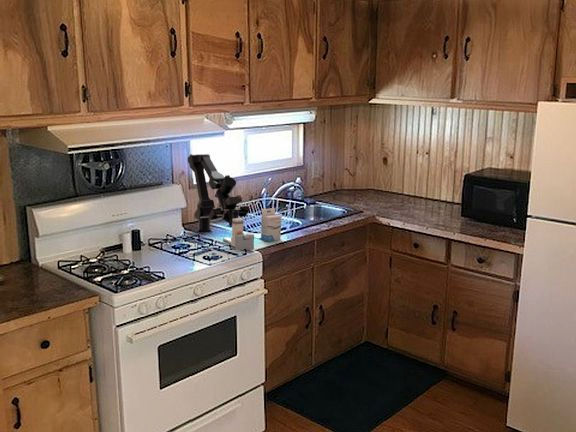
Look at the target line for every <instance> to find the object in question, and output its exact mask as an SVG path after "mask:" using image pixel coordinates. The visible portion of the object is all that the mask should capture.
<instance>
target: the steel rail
mask: <svg viewBox="0 0 576 432" xmlns="http://www.w3.org/2000/svg"><path fill="white" fill-rule="evenodd" d="M231 238H232V237H231ZM231 238H230V237H224V238H222V241H223V242H224V243H227V244H229V245H231Z"/></svg>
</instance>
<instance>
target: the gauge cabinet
mask: <svg viewBox="0 0 576 432" xmlns="http://www.w3.org/2000/svg"><path fill="white" fill-rule="evenodd" d="M245 234H246V235H249V236H250V238H249V240H247V239H244V238H243V237H244V236H243V235H235V247H234V250H235V249H237V250H241V251H246V250H247V251H248V250H254V249H255V234H253V233H245ZM244 249H246V250H244ZM237 250H236V251H237Z"/></svg>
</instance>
